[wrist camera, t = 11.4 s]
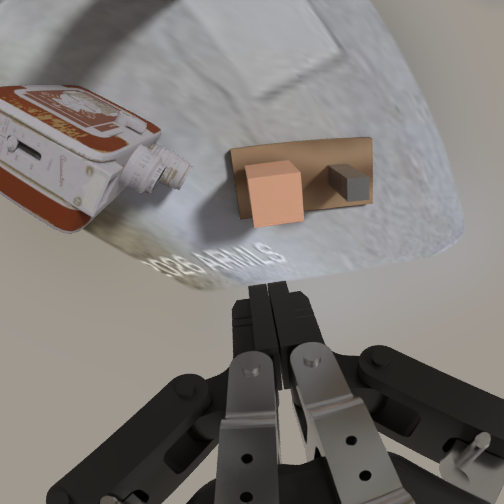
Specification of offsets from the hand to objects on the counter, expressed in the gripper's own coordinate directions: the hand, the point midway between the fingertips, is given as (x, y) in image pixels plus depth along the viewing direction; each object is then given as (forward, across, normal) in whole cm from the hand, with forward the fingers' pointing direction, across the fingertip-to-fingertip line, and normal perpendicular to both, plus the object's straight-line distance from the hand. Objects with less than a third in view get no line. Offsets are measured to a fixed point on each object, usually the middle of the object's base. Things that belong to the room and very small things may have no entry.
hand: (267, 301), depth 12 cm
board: (+28, -8, +3) cm, 29 cm away
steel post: (+26, -12, +3) cm, 29 cm away
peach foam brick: (+26, -3, +3) cm, 26 cm away
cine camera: (+28, +14, -6) cm, 32 cm away
